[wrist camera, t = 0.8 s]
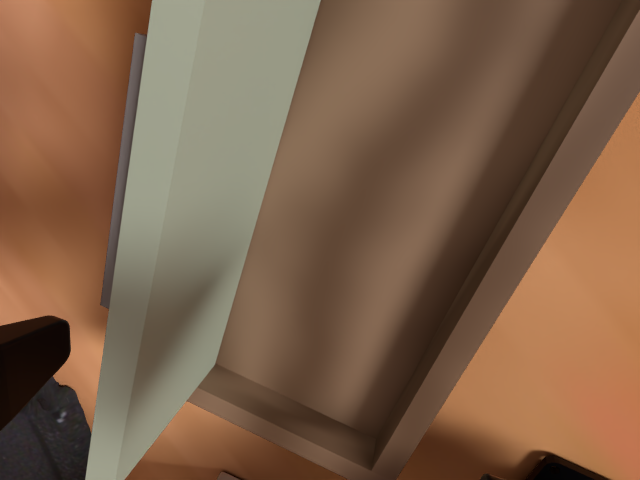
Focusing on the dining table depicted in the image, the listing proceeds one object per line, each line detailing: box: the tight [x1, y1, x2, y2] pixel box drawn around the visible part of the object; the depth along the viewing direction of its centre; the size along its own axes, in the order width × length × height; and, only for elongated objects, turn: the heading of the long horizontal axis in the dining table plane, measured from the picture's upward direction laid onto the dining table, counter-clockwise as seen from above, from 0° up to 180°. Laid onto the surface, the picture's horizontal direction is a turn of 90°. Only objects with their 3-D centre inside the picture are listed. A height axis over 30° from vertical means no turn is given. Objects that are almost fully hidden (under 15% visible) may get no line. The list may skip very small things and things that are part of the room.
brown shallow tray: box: [187, 0, 640, 480], centre depth 17 cm, size 12×26×3 cm, turn 161°
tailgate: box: [85, 0, 321, 480], centre depth 14 cm, size 2×24×8 cm, turn 161°
